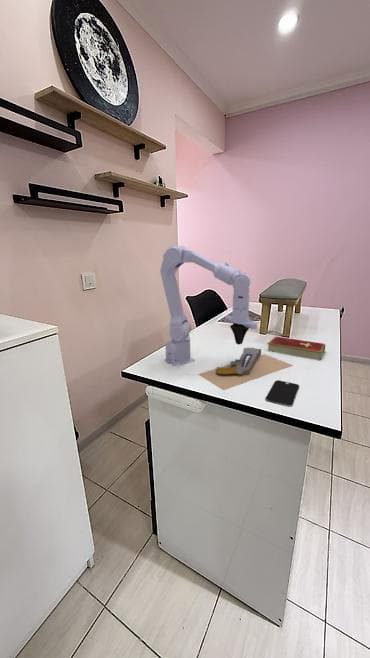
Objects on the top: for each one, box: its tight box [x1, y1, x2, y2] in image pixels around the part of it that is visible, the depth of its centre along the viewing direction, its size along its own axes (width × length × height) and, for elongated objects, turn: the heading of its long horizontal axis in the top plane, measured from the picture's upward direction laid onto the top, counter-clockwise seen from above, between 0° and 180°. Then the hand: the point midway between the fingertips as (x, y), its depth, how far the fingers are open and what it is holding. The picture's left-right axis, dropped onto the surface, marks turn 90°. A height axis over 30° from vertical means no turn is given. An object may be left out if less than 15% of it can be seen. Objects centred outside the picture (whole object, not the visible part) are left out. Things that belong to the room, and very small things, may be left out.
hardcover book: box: [267, 335, 326, 361], centre depth 119 cm, size 12×21×4 cm, turn 56°
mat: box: [197, 353, 294, 391], centre depth 102 cm, size 34×14×1 cm, turn 122°
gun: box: [215, 347, 262, 375], centre depth 106 cm, size 3×25×15 cm
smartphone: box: [264, 379, 300, 408], centre depth 85 cm, size 8×1×15 cm
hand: (239, 343), depth 103 cm, fingers closed
